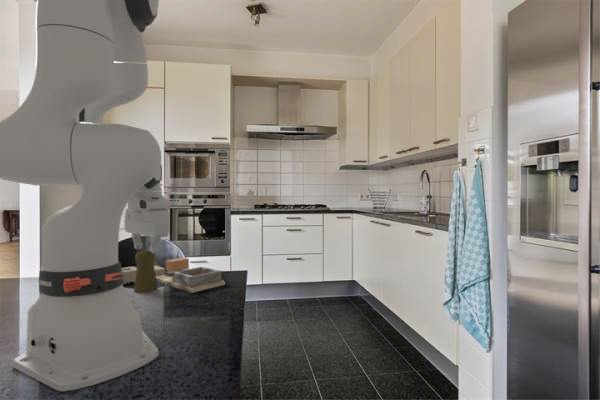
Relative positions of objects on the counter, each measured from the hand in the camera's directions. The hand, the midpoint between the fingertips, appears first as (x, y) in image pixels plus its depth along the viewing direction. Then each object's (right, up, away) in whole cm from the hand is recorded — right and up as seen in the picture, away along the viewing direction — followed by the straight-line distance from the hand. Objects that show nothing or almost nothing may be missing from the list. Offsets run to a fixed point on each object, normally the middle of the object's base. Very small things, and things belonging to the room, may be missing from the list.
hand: (145, 250), depth 96 cm
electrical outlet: (-10, -12, +11) cm, 19 cm away
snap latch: (+5, -7, +11) cm, 14 cm away
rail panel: (+9, -11, +7) cm, 16 cm away
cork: (0, -11, -1) cm, 11 cm away
